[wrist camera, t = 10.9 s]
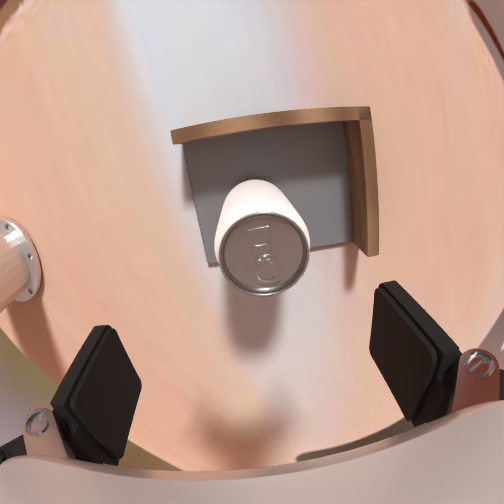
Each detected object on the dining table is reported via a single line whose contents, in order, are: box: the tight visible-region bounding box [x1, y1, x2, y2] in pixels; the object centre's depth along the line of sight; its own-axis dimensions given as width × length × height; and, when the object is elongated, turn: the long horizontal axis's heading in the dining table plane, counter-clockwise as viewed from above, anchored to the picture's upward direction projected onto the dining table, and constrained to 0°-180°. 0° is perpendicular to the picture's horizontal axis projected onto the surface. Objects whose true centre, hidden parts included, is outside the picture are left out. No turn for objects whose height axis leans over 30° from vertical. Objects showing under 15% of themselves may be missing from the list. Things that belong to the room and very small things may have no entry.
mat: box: [184, 122, 352, 264], centre depth 28 cm, size 17×14×1 cm
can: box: [214, 180, 310, 296], centre depth 23 cm, size 6×6×12 cm
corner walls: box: [171, 107, 379, 257], centre depth 26 cm, size 17×14×5 cm
